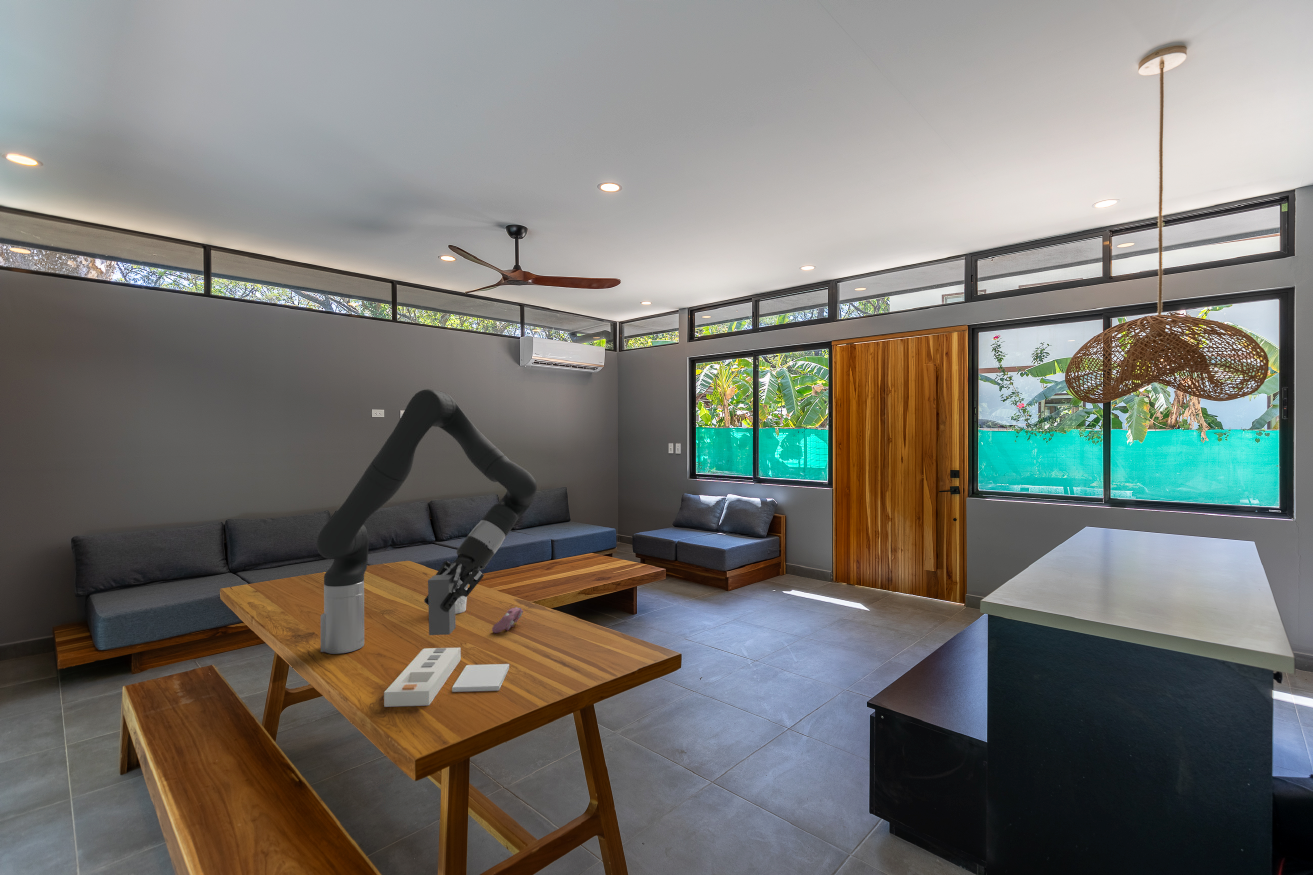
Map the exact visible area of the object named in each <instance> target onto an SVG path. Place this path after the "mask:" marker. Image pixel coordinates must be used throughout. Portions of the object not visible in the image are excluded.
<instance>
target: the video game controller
mask: <svg viewBox="0 0 1313 875" xmlns="http://www.w3.org/2000/svg"><path fill="white" fill-rule="evenodd" d="M523 613H524V610H523V609H522V608H520V607H517V606H515V607H512V608H509V609H508V610H507V611H506V613H505V614H504V615H503V616H502V618H501V619H500V620H499V621H497V622H496V623H495V624H493V626H492V628H491V629H492V630H491V631H492V632H493V633H494V634H498V633H501V632H503V631H504V630H505V631H509V630H510V629H511V628H513V627H515V626H516V625H517V622H518V621H519V619H520V618H521V617H522V615H523Z"/></svg>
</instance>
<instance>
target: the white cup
mask: <svg viewBox="0 0 1313 875" xmlns="http://www.w3.org/2000/svg"><path fill="white" fill-rule="evenodd" d="M458 588H459V587H458ZM467 589H468V588H467ZM467 589H466V590H467ZM467 600H468V596H467V597H465V596H462V597H461V598H458V599H457V600H456V602H455V615H457V614H461V613H465V611H467V602H468V601H467Z"/></svg>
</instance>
